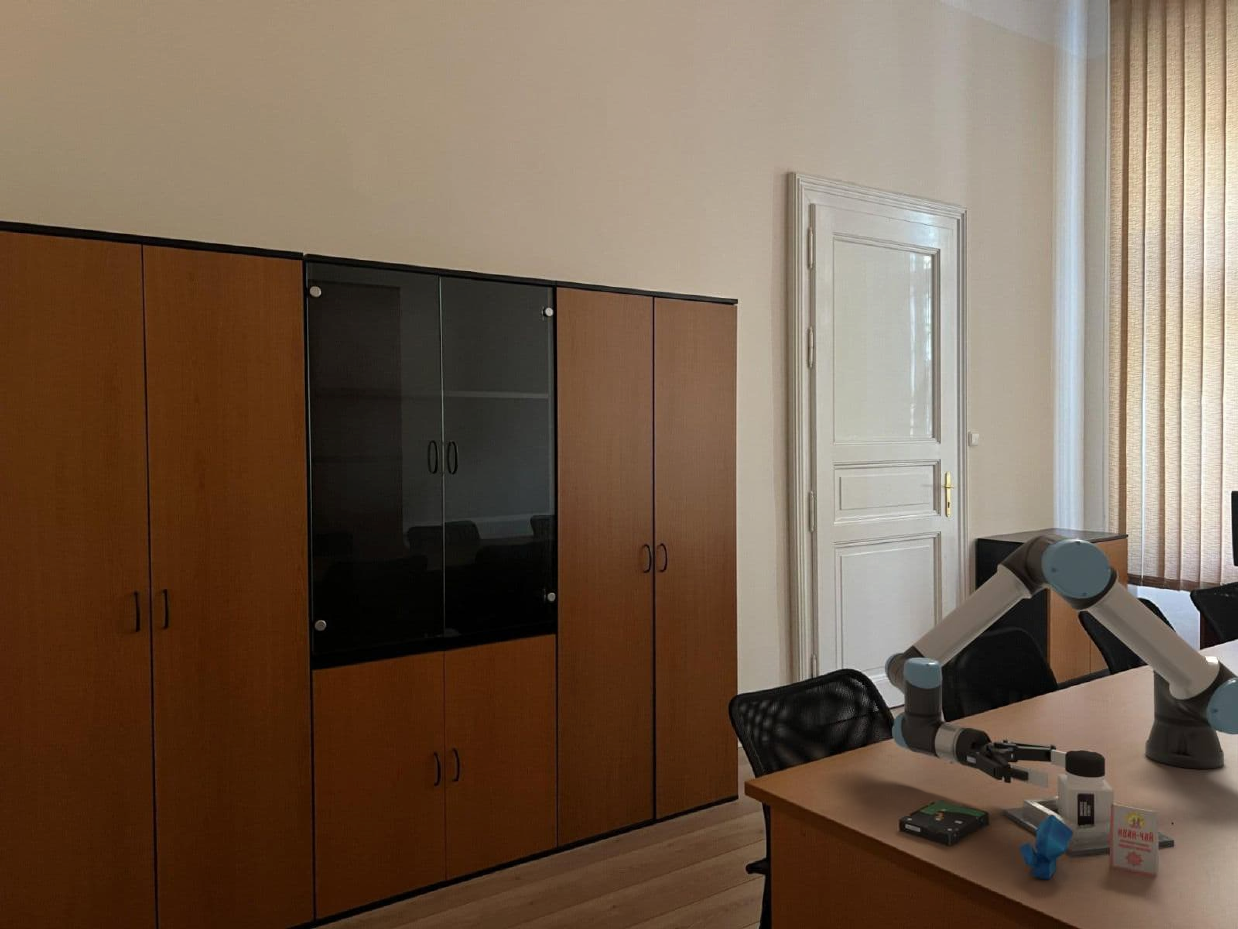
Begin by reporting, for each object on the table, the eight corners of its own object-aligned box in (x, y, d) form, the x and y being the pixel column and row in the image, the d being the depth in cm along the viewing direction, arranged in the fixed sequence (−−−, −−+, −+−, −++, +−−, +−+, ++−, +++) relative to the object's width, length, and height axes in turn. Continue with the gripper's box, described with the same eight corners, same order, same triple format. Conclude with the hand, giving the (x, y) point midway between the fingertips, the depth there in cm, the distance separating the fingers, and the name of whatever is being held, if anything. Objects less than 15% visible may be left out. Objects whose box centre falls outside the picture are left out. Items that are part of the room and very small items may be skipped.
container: (1114, 833, 174) (1114, 760, 174) (1067, 830, 176) (1067, 758, 176) (1102, 817, 182) (1101, 747, 182) (1057, 814, 184) (1057, 745, 183)
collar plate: (1095, 805, 191) (1095, 787, 191) (1174, 845, 171) (1174, 825, 171) (1003, 814, 186) (1003, 796, 186) (1072, 857, 167) (1072, 836, 167)
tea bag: (1113, 859, 166) (1112, 800, 166) (1158, 868, 162) (1158, 808, 162) (1109, 867, 163) (1109, 807, 163) (1156, 876, 159) (1155, 815, 159)
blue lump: (1013, 839, 158) (1027, 800, 167) (1016, 887, 159) (1030, 845, 169) (1063, 849, 154) (1075, 808, 163) (1066, 898, 155) (1077, 854, 165)
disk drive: (951, 850, 172) (989, 826, 182) (951, 834, 172) (989, 811, 182) (898, 834, 179) (937, 812, 190) (897, 819, 179) (937, 797, 190)
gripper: (999, 752, 206) (1100, 778, 189) (927, 777, 190) (1030, 808, 174) (998, 716, 205) (1100, 739, 189) (926, 739, 190) (1029, 766, 173)
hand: (1066, 772), depth 181 cm, fingers open, 13 cm apart
